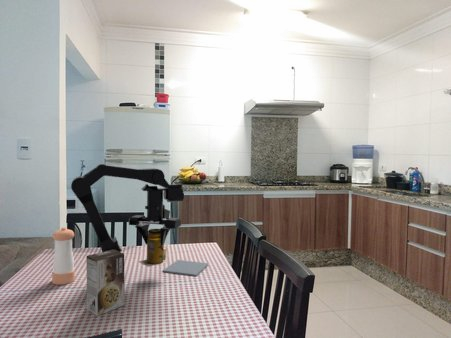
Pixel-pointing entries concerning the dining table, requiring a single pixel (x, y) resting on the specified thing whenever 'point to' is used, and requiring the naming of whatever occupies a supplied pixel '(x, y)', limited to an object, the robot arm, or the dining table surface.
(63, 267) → the pepper shaker
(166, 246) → the beech cube
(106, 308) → the cookie box
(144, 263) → the condiment
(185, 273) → the plate
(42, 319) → the dining table surface
